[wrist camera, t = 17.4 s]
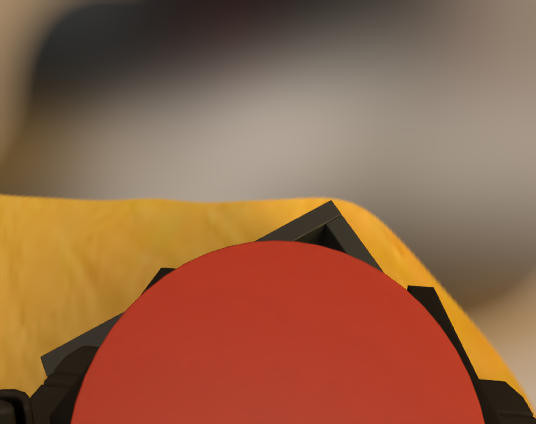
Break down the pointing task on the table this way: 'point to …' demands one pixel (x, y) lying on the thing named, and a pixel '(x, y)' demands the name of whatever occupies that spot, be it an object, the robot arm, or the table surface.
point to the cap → (277, 347)
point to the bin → (301, 230)
